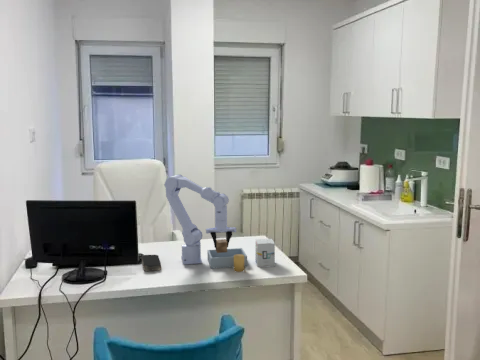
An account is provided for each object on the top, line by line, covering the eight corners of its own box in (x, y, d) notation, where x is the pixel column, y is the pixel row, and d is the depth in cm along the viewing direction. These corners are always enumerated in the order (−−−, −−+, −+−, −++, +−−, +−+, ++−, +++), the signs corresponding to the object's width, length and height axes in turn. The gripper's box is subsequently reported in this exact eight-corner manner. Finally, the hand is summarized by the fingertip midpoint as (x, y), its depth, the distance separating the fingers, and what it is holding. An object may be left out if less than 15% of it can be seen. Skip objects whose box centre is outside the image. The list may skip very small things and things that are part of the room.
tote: (210, 268, 232) (210, 258, 231) (207, 259, 245) (207, 249, 244) (247, 266, 235) (247, 256, 234) (242, 257, 248) (242, 248, 247)
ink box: (255, 261, 242) (255, 238, 240) (272, 261, 243) (272, 238, 241) (257, 267, 234) (257, 243, 232) (274, 266, 234) (275, 243, 233)
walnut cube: (216, 252, 233) (216, 242, 232) (215, 249, 238) (215, 239, 237) (227, 252, 234) (227, 242, 233) (225, 249, 239) (225, 239, 238)
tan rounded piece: (234, 272, 227) (234, 257, 226) (232, 268, 231) (232, 254, 230) (245, 271, 227) (245, 257, 226) (243, 268, 232) (243, 253, 231)
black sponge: (141, 262, 242) (141, 255, 242) (158, 260, 244) (158, 253, 244) (143, 273, 227) (143, 265, 226) (162, 271, 229) (161, 263, 228)
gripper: (206, 222, 229) (207, 250, 231) (237, 220, 231) (237, 248, 233) (205, 218, 236) (205, 245, 238) (235, 217, 238) (235, 244, 240)
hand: (221, 247), depth 236 cm, fingers closed on walnut cube, 5 cm apart
